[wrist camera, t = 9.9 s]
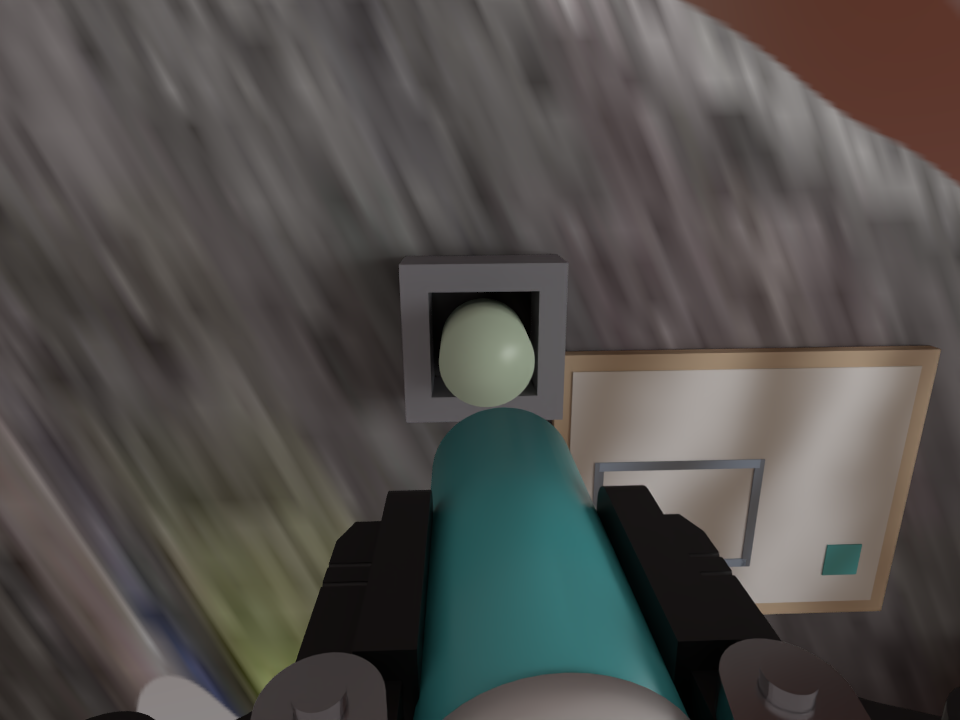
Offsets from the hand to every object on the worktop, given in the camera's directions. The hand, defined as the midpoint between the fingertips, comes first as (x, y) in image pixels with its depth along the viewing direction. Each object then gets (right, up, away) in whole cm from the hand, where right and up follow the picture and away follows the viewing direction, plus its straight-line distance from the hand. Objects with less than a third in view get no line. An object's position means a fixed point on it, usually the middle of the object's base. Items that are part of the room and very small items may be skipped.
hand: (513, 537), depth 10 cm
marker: (0, +1, +4) cm, 4 cm away
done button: (0, +4, +12) cm, 13 cm away
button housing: (0, +4, +14) cm, 15 cm away
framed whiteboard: (+11, -3, +16) cm, 20 cm away
